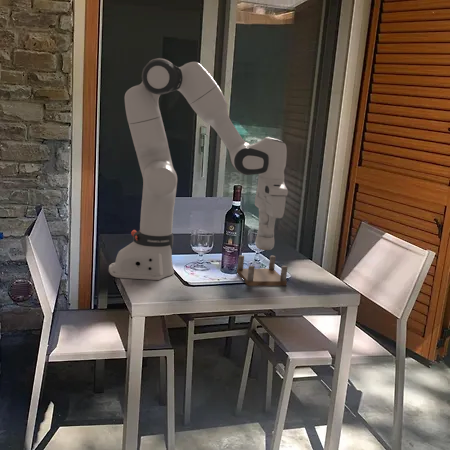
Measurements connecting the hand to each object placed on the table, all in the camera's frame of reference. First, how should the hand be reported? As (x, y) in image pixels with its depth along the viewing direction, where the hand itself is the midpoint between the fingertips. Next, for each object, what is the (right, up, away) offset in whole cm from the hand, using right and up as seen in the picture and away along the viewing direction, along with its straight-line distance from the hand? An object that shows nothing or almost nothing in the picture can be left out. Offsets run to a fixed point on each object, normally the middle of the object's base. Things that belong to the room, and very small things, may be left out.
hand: (266, 225), depth 199 cm
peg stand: (-2, -19, +4) cm, 20 cm away
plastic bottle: (-1, -9, +2) cm, 9 cm away
